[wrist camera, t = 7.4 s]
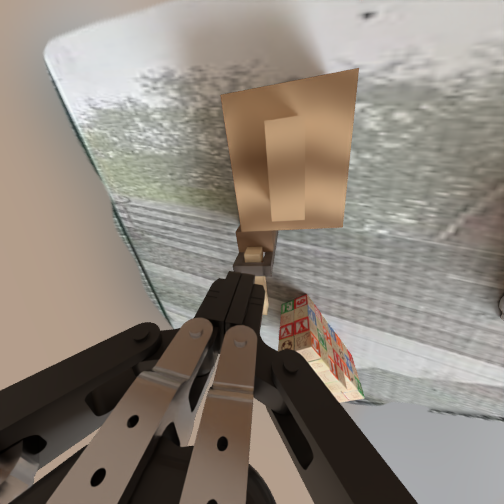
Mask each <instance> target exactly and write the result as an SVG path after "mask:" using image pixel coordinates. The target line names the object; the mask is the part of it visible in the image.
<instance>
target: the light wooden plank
mask: <svg viewBox="0 0 504 504" xmlns="http://www.w3.org/2000/svg"><path fill="white" fill-rule="evenodd" d="M244 258H245V262H263V260H264V258H263V249H262V247H247V249H246V251H245V253H244ZM255 284H259V285H263V287H264V289H265V300H264V308H263V315H267V312H268V296H267V286H266V277H265V276H255Z"/></svg>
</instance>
